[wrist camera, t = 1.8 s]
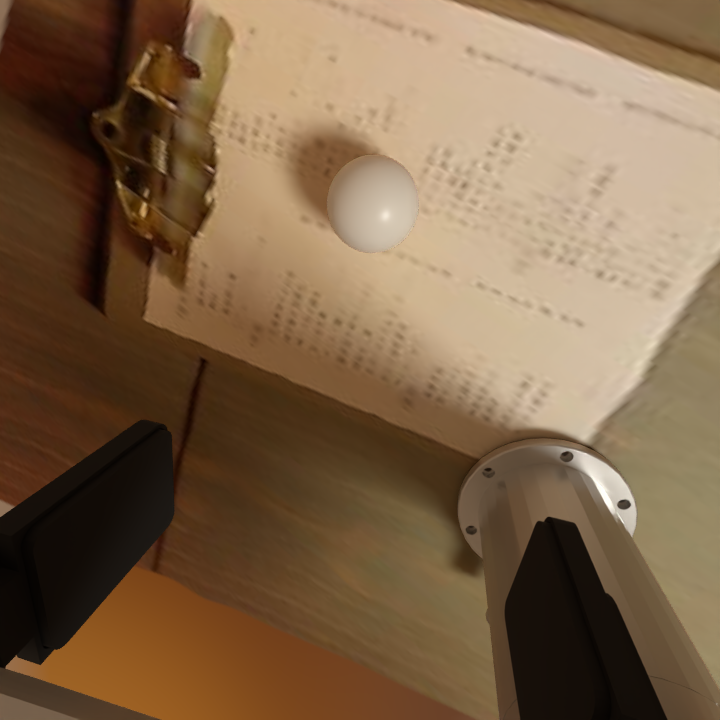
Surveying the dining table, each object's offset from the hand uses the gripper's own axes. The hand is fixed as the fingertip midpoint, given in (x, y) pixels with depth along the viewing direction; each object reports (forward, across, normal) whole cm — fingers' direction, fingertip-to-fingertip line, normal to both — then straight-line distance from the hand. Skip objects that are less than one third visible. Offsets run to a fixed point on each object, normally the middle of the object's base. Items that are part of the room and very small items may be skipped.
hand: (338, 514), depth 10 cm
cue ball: (+18, +3, -7) cm, 19 cm away
